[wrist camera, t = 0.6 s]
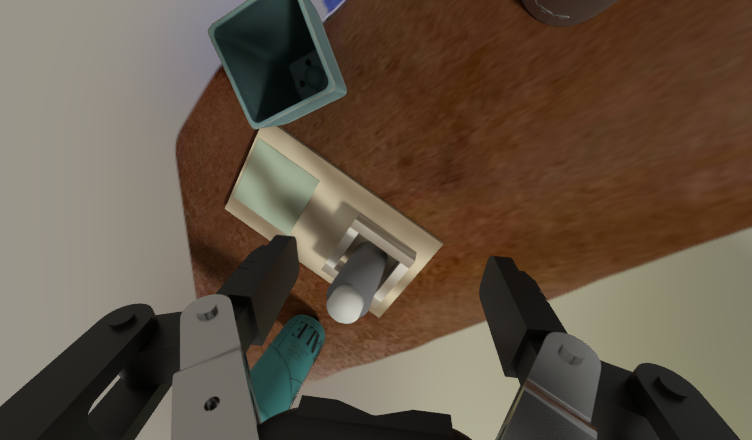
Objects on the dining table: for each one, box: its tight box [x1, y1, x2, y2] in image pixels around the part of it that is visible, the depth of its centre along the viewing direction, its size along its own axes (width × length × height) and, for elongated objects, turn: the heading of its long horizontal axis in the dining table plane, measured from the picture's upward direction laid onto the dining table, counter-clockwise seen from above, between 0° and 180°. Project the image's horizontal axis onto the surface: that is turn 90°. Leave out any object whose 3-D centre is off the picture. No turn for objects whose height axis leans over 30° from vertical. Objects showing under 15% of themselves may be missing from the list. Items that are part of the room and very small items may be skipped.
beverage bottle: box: [250, 315, 325, 422], centre depth 33 cm, size 6×7×20 cm
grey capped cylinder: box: [327, 241, 388, 324], centre depth 30 cm, size 4×4×11 cm
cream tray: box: [225, 125, 443, 317], centre depth 34 cm, size 14×26×3 cm, turn 57°
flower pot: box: [208, 0, 347, 129], centre depth 26 cm, size 9×9×9 cm
